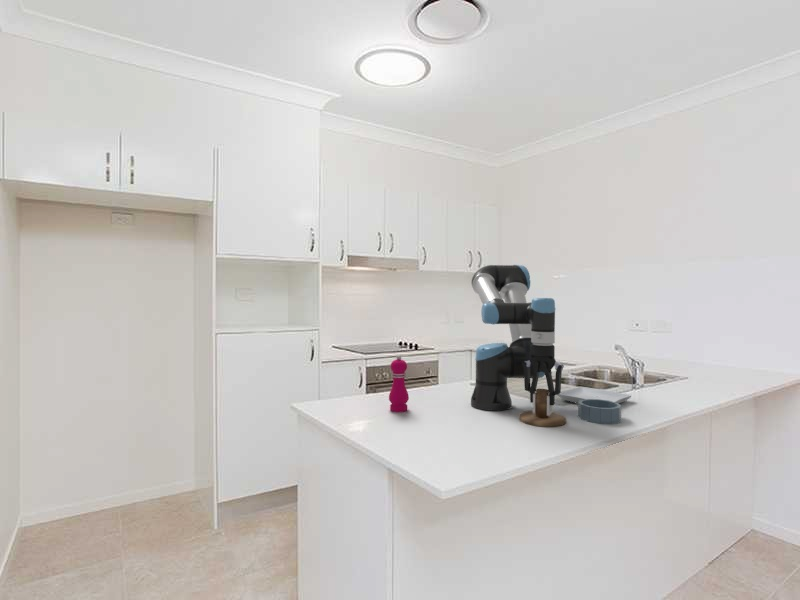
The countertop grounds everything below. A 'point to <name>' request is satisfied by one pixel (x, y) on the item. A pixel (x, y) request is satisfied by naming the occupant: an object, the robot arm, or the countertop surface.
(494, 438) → the countertop surface
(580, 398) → the salad plate
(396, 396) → the pepper mill
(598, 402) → the bowl
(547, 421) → the lid
